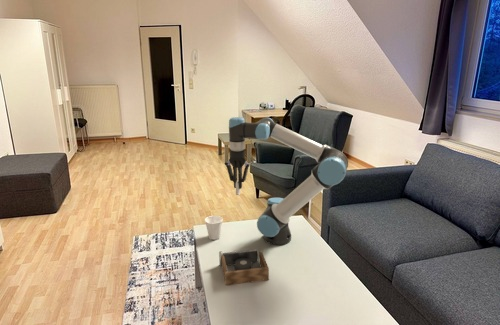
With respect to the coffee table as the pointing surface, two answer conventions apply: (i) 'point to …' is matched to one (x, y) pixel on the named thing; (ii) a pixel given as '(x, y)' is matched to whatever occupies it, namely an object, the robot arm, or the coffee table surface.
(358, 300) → the coffee table surface
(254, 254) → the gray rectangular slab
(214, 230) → the cup
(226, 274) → the bay
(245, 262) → the coil
